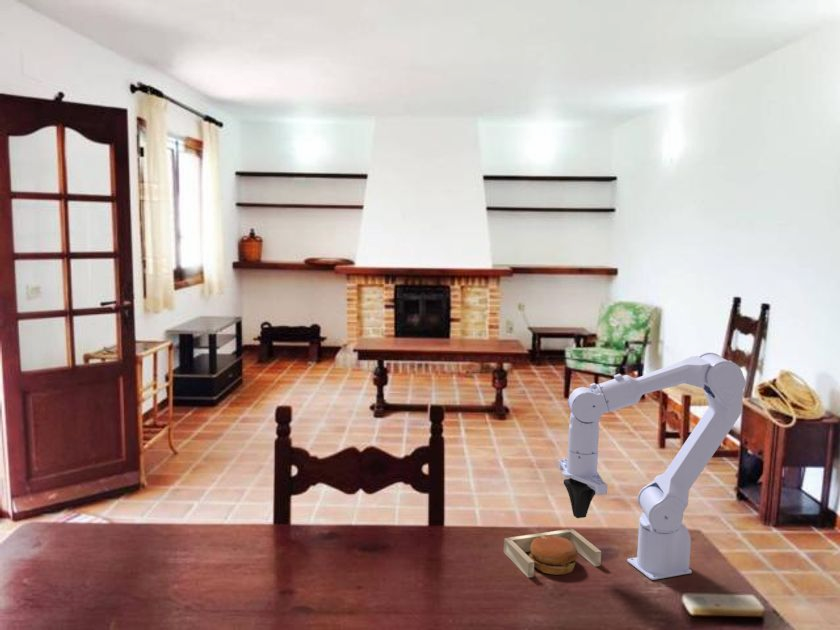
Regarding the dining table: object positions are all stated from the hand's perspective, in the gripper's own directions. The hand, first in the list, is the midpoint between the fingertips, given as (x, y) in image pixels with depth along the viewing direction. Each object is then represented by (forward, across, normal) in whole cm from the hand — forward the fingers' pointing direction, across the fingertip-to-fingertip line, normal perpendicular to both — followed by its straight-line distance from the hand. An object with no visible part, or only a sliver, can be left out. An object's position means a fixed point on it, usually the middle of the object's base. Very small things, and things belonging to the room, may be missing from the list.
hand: (579, 516), depth 133 cm
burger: (+10, -2, -5) cm, 11 cm away
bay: (+10, -3, -4) cm, 11 cm away
